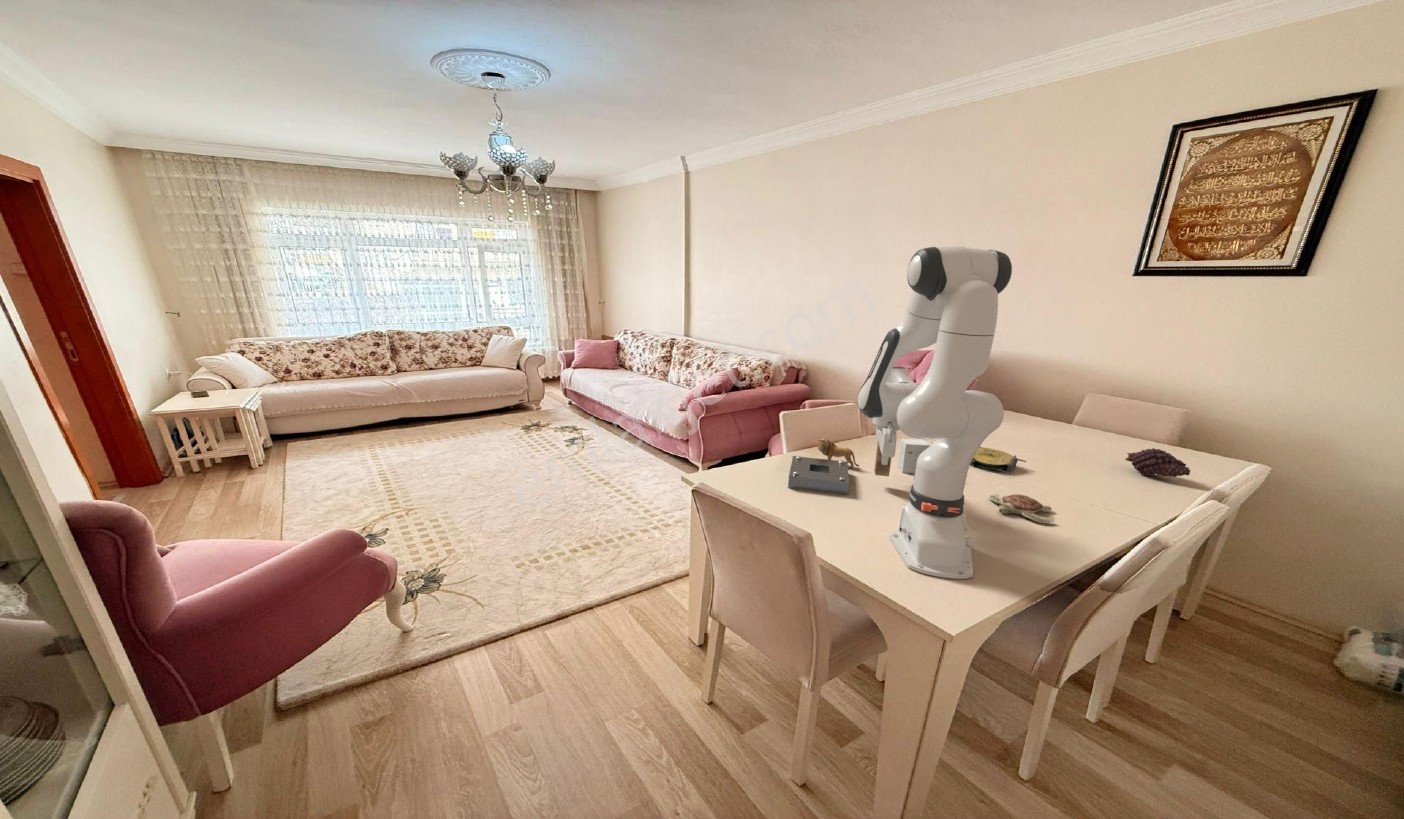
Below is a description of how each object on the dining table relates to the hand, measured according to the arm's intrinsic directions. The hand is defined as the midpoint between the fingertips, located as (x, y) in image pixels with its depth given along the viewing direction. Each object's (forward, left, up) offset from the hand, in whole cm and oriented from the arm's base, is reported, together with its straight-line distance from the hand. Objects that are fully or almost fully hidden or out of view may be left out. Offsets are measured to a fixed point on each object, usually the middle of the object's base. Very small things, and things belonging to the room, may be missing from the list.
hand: (883, 461), depth 154 cm
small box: (+17, -12, -9) cm, 23 cm away
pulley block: (+35, -35, -9) cm, 50 cm away
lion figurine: (+15, +14, -9) cm, 22 cm away
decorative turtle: (-6, -38, -9) cm, 39 cm away
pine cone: (+36, -92, -9) cm, 99 cm away
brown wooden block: (0, 0, -4) cm, 4 cm away
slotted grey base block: (-1, +19, -9) cm, 21 cm away
